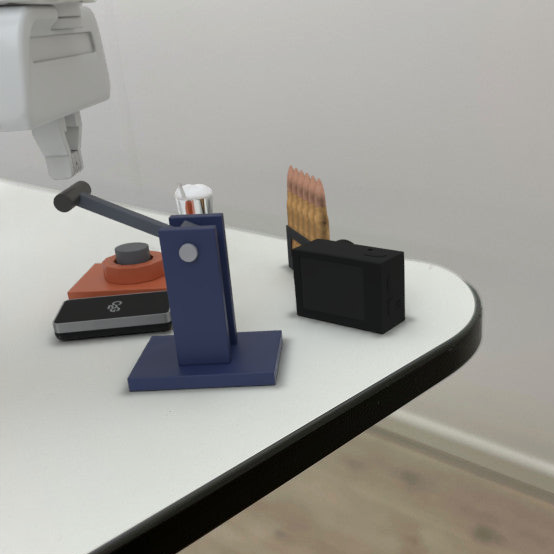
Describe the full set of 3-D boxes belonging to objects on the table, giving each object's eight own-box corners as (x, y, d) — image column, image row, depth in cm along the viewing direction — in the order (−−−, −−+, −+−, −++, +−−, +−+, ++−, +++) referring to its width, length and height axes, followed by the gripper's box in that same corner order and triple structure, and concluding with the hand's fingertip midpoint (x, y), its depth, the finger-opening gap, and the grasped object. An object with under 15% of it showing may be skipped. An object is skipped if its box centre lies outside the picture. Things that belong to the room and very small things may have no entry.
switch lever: (49, 214, 59) (57, 185, 58) (70, 199, 63) (77, 172, 62) (201, 271, 61) (210, 244, 60) (211, 253, 65) (220, 228, 64)
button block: (71, 312, 80) (63, 275, 79) (98, 281, 90) (91, 248, 88) (185, 306, 81) (179, 270, 79) (200, 276, 90) (196, 243, 88)
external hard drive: (68, 318, 79) (64, 299, 78) (177, 307, 80) (174, 289, 80) (55, 344, 73) (51, 324, 72) (174, 332, 74) (171, 313, 73)
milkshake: (173, 263, 95) (161, 182, 90) (194, 251, 99) (184, 173, 95) (206, 265, 93) (196, 183, 89) (226, 253, 98) (217, 174, 94)
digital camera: (413, 315, 76) (412, 247, 73) (383, 334, 72) (381, 262, 69) (328, 298, 81) (324, 234, 78) (296, 315, 77) (291, 247, 74)
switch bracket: (129, 391, 63) (101, 239, 57) (153, 347, 71) (130, 211, 66) (275, 385, 63) (260, 232, 58) (282, 341, 71) (270, 204, 66)
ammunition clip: (288, 266, 92) (280, 164, 87) (302, 263, 93) (295, 163, 88) (320, 292, 83) (313, 181, 78) (336, 289, 84) (330, 179, 79)
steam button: (113, 268, 82) (110, 252, 81) (121, 258, 85) (119, 242, 84) (146, 266, 82) (144, 250, 81) (154, 256, 85) (151, 241, 84)
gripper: (36, -15, 63) (70, 154, 69) (-90, -26, 45) (-30, 208, 51) (112, -19, 64) (139, 151, 69) (18, -31, 45) (66, 203, 51)
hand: (67, 176), depth 60 cm, fingers closed
